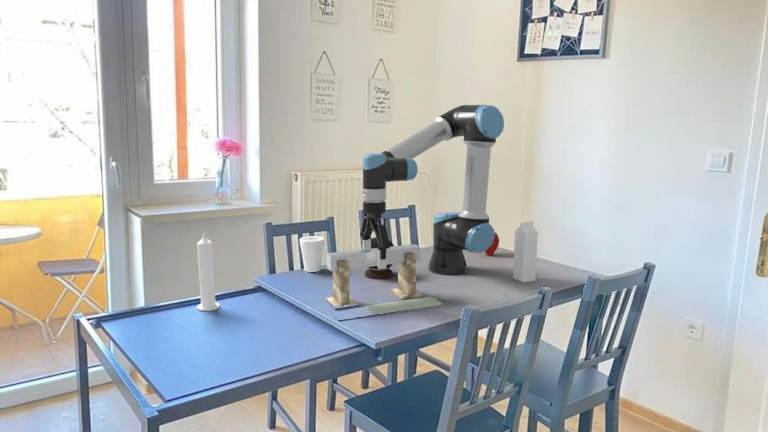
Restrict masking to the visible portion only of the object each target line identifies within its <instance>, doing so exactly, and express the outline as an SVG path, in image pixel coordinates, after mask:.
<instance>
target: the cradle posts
mask: <svg viewBox="0 0 768 432" xmlns="http://www.w3.org/2000/svg"><path fill="white" fill-rule="evenodd" d="M416 282H417V261H416V254H406V263H397V287H396V288H390V292H391V293H392V294H393V295H395V296H396V297H397V298H399V299H400V298H401V299H400V300H409V299H416V298H423V296H424V294H423V292H421V291H420V290H419V289H417V288H416V287H417V286H416V285H417V283H416ZM326 299H327V300H328V301H329V302H330V303H331V304H332V305H333V306H334V307H336V306H344V305H354V304H357V305H358V302H357V301H356V300H355V299H353V298H352V297H351V296H350V269H349V262H348V261H341V262H339V270H337V271H332V296H330V297H329V296H327V297H325V300H326Z"/></svg>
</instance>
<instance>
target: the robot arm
mask: <svg viewBox="0 0 768 432" xmlns="http://www.w3.org/2000/svg"><path fill="white" fill-rule="evenodd" d="M504 128H505V120H504V116H503V114H502V112H501V111H500V109H499V108H498V107H496V106H494V105H490V104H489V105H488V104H462V105H458V106H457V107H454V108H452V109H450V110H448V111H446V112H445V113H443V114H441V115H439V116H436V118H435V119H434V121H433V122H432V123H431V124H430V125H427V126H426V127H424V128H422V129H420V130H418V131H417V132H415V133H413V134H411V135H410V136H408V137H406V138H405V139H403V140H402V141H399V142H397V143H396V144H394V145H393V146H391V147H389V148H388V149H386V150H384V151H382V152H381V153H373V152H372V153H370V152H369V153H366V154H364V155H363V157H362V191H361V194H362V199H363V202H362V212H363V214H362V215H363V219H362V222H361V223H362V224H361V229H360V233H359V236H360V238H361V239H362V250H364V249H371V240H370V239H372V238H373V237H372V234H373V233H374V235H375V237H376V239H377V242H378V246H379V247H378V248H377V250H378V269H384V268H386V249H388V248H390V245H389V241H390V238H389V235H388V234H389V233H388V229H387V221H386V220H387V219H386V218H384V217H383V218H382V214H385V213H386V211H387V209H386V208H387V207H386V205H387V203H386V200H387V187H386V186H387V183H389V182H402V181H403V182H407V181H412V180H414V179H415V178H416V176H417V174H418V164H417V162H416V161H415V159H414V158H416V157H418V156H419V155H421V154H423V153H425V152H426V151H428V150H430V149H431V148H434V147H435V146H436V145H438V144H440V143H442V142H443V141H446V142H448V141H450V140H452V139H454V138H457V137H463V142H464V144H465V145H466V149H467V150H466V160H465V161H466V162H465V173H464V187H463V198H462V199H463V202H462V210H461V211H452V212H451V211H450V212H441V213H440V212H439V213H436V214H435V215H434V217H433V223H432V225H433V227H432V229H433V236H432V237H433V242H432V243H433V245H432V246H433V247H432V248H433V250H432V253H431V256H430V259H429V262H428V270H429V271H430V272H431V273H434V274H439V275H449V276H451V275H460V274H463V273H465V272H467V270H468V268H467V267H468V265H467V262H466V261H467V260H466V258H465V255H464V251H466V252H469V253H475V254H481V253H485V252H484V251H486V250H487V249H488V248H489V247H490V246H491V244H492V243H493V240H494V236H495V233H496V232H495V229H494V227H493V225H491V224H490V215H489V214H487V200H488V187H489V177H490V175H489V174H490V164H491V155H492V154H491V151H492V147H493V146H494V145H496V144H497V143H496V142H497V138H498V137H500V136H501V133H503V131H504Z"/></svg>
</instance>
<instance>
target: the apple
mask: <svg viewBox="0 0 768 432" xmlns="http://www.w3.org/2000/svg"><path fill="white" fill-rule="evenodd" d="M499 244H500V237H499V235H498V233H497V232H495V236H494V240H493V243H492V244H491V246H490V247H489V248H488V249H487V250H486V251H484V252H483V253H484V254H485V255H487V256H492V255H493V254H494V253H495V252H496V251H497V249H498V248H499Z"/></svg>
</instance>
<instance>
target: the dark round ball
mask: <svg viewBox="0 0 768 432" xmlns="http://www.w3.org/2000/svg"><path fill="white" fill-rule="evenodd" d="M371 238H372V239H369V240H371V249H373V248H378V247H379V246H378V242H377V239H376V236H375V237H371ZM389 245H390V247H392V246H395V245H394V244H393V242H392V241H391V240H389ZM392 265H394V264H389V265H386V268H384V269H378V266H371V267H368V268H367V269H366V271H364V277H365V278H366V279H367V278H368V279H371V280H387V279H390V278H393V277H394V276H395V275H394V272H393V270H392V269H391V267H392Z"/></svg>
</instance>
